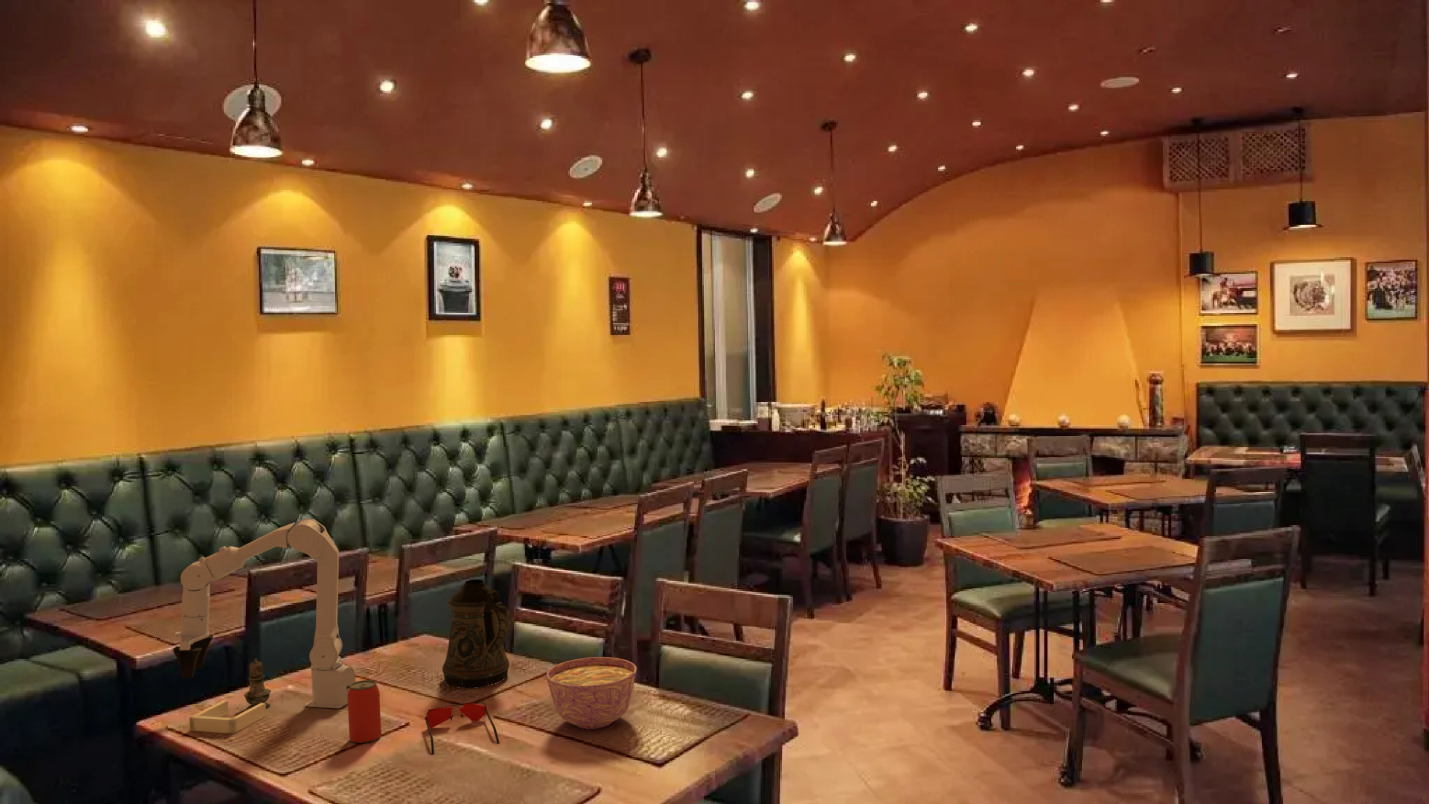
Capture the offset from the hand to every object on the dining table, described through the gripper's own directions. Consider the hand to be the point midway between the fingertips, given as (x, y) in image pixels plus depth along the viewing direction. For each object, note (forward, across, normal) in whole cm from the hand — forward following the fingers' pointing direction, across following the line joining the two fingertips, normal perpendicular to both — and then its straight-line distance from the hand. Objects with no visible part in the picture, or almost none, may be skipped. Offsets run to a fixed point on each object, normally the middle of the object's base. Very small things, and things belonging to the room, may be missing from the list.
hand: (192, 672), depth 237 cm
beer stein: (+4, -8, +66) cm, 66 cm away
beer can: (+6, +26, +42) cm, 50 cm away
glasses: (+5, +30, +62) cm, 69 cm away
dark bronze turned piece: (+9, -2, +14) cm, 17 cm away
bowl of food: (+2, +30, +91) cm, 96 cm away
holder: (+9, +7, +10) cm, 16 cm away
